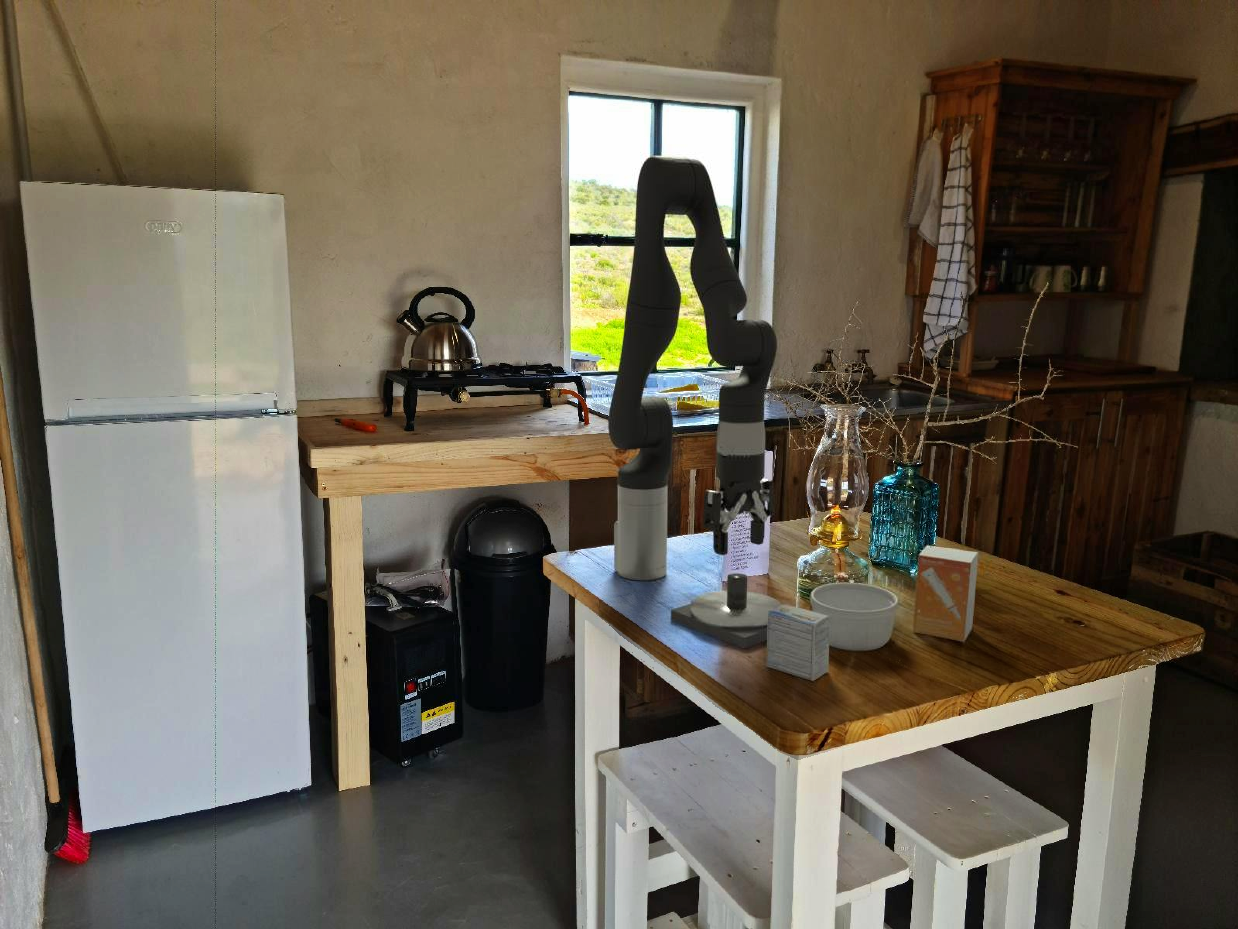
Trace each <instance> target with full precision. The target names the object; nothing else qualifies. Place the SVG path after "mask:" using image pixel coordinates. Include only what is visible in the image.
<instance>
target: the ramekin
mask: <svg viewBox="0 0 1238 929" xmlns="http://www.w3.org/2000/svg"><path fill="white" fill-rule="evenodd" d="M809 601H810V605H811V608H812V610H811V611H813V612H816V613H820V614H823V615H827V616H829V617H830V632H829V647H832V648H836V649H841V650H846V651H855V652H856V651H857V652H858V651H859V652H861V651H862V652H864V651H872V650H877V649H879V648H882V647H884V646H885V645H886V644H887V643H888V642H889V640H890V639H891V636H892V634H893V629H894V625H895V624H894V623H895V618H896V612H897V611H898V609H899V599H898V597H897V596H896V595H895V594H894V593H893V592H891V591H890V590H888V589H885V588H883V587H879V586H875V585H872V584H866V583H858V582H833V583H827V584H823V585H821V586H817V587H816V588H814V589H813V590H812V591H811V594H810V600H809Z"/></svg>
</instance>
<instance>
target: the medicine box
mask: <svg viewBox="0 0 1238 929" xmlns="http://www.w3.org/2000/svg"><path fill="white" fill-rule="evenodd" d="M829 632H830V617H829V616H827V615H823V614H820V613H816V612H813V611H812V610H809V609H804V608H801V607H797V606H793V605H789V604H785V603H784V604H782V605H781V606H779V607H776V608H774V609H773V610H771V611H769V612H768V626H767V641H766V663H765V664H766V667H767V668H770V669H772V670H773V669H774V670H777V671H780V672H783V673H787V674H790V675H792V676H795V677H799V678H802V679H805V680H808V681H812V682H814V681H816V680H817V679H819V678H820V677H822V676H823V675H824V674H826V673H828V672H829V664H830V663H829V662H830V661H829V660H830V658H829V657H830V654H829V653H830V645H829Z"/></svg>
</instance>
